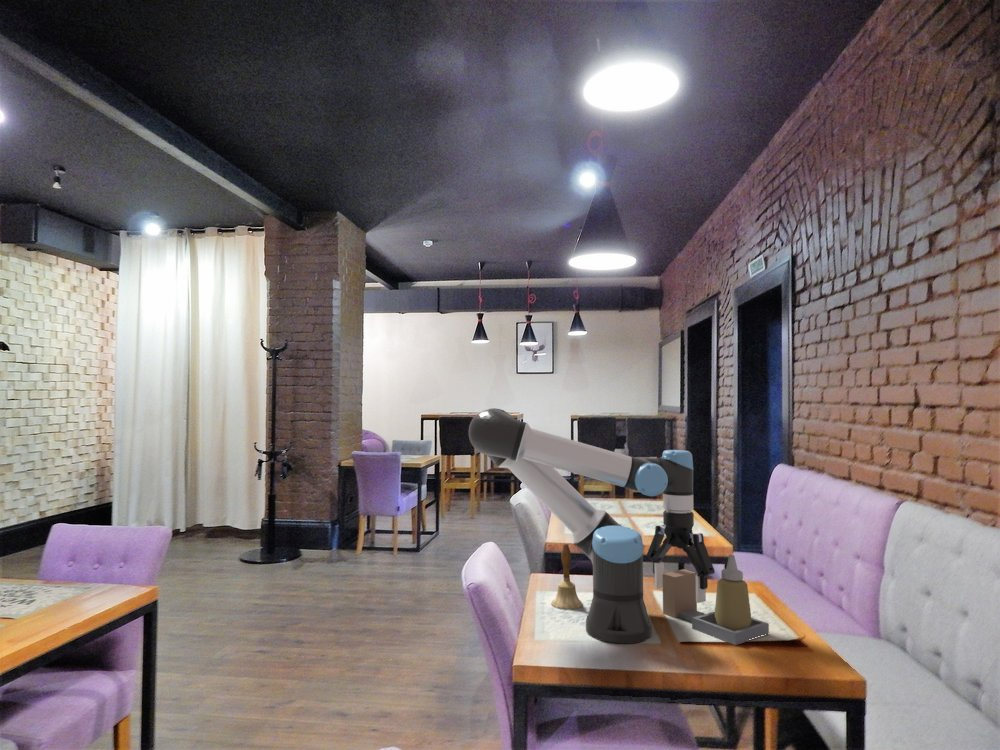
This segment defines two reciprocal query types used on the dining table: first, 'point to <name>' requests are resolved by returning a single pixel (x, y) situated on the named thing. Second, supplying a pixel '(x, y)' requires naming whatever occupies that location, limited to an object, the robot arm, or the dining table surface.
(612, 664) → the dining table surface
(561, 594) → the hand bell
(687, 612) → the grey tray with block
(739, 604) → the squeeze bottle
